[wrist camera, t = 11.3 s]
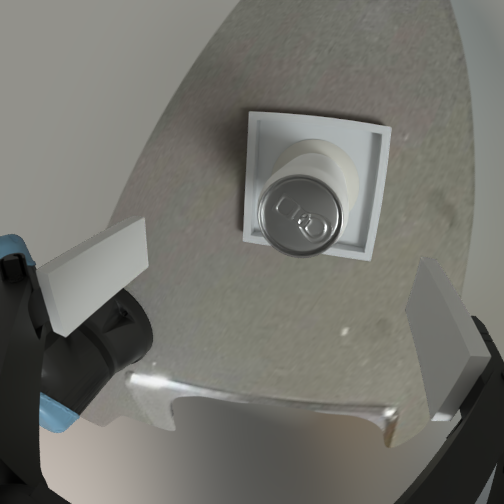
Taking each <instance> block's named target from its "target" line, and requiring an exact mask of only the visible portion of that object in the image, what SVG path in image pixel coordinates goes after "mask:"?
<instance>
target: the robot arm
mask: <svg viewBox="0 0 504 504" xmlns="http://www.w3.org/2000/svg"><path fill="white" fill-rule="evenodd" d="M35 265H36V263H35V261H33V260H32V258H31V255H30V253H29V251H28V249H27V247H26V244H25V242H24V241H23V239H22V238H21V237H20V236H18V235H15V234H8V235H4V236H0V504H71V503H70V502H68V501H67V500H65V499H63V498H62V497H61V496H59V495H58V494H56V493H55V492H54V491H52V490H50V489H49V488H48V485H47V483H46V481H45V479H44V477H43V475H42V472H41V468H40V450H39V449H40V448H39V425H40V426H41V427H43V428H45V429H47V430H49V431H51V432H54V433H61V432H64V431H65V430H66V429H67V428H68V427H69V426H70V425H72V424H73V423H74V422H75V420H77V419H79V417H80V415H81V413H82V412H83V411H84V410H85V409H86V407H87V406H88V405H89V404H90V403H91V401H92V400H93V399H94V398H95V397H96V395H97V394H98V393H99V392H100V391H101V389H102V388H103V387H104V386H105V385H106V383H107V382H108V381H109V380H110V379H111V377H112V376H113V375H114V374H115V373H117V372H119V371H120V370H122V369H124V368H125V367H127V366H128V365H130V364H133V363H136V362H138V361H140V360H141V359H142V358H143V357H144V356H145V355H146V353H147V352H148V351H149V350H150V348H151V346H152V342H153V333H152V328H151V325H150V322H149V320H148V318H147V316H146V314H145V313H144V311H143V309H142V308H141V307H140V305H139V304H138V303H137V302H136V300H135V299H134V298H133V297H132V296H131V295H130V294H129V293H127V292H126V291H125V290H124V289H122V288H123V287H125V286H126V285H127V284H128V283H129V282H131V281H132V280H133V279H134V278H135V277H137V276H138V275H139V274H140V273H141V272H143V271H144V270H145V269H146V268H148V267H149V266H148V255H147V243H146V230H145V217H141V216H131V217H129V218H127V219H125V220H123V221H121V222H119V223H117V224H115V225H113V226H111V227H110V228H108V229H106V230H104V231H102V232H100V233H99V234H97V235H95V236H93V237H91V238H90V239H88V240H86V241H84V242H82V243H81V244H79V245H77V246H75V247H74V248H72V249H70V250H68V251H67V252H65V253H63V254H61V255H60V256H58V257H56V258H55V259H53V260H51V261H50V262H48V263H46V264H45V265H43V266H41V267H40V268H38V269H36V267H35ZM405 311H406V314H407V317H408V321H409V325H410V328H411V332H412V336H413V339H414V343H415V347H416V351H417V355H418V359H419V363H420V368H421V372H422V377H423V381H424V386H425V391H426V396H427V401H428V407H429V412H430V418H431V421H451V420H452V418H453V417H454V415H455V414H456V413H457V411H458V410H459V409H460V413H461V416H462V418H461V420H460V421H459V422H458V424H457V425H456V426H455V427H454V429H453V430H452V431H451V433H450V434H449V435H448V437H447V440H446V441H445V442H444V444H443V445H442V447H441V448H440V449H439V451H438V452H437V454H436V455H435V456H434V457H433V459H432V460H431V461H430V462H429V464H428V465H427V467H426V468H425V469H424V470H423V471H422V472H421V474H420V475H419V476H418V477H417V478H416V480H415V481H414V482H413V483H412V485H410V487H409V488H408V489H407V490H406V491H405V492H404V493H403V494H402V495H401V497H400V498H399V499H398V500H397V501H396V502H395V503H394V504H475V502H476V501H477V498H478V497H479V496H480V494H481V492H482V490H483V488H484V487H485V485H486V483H487V481H488V479H489V477H490V476H491V474H492V472H493V470H494V468H495V466H496V464H497V466H496V471H495V475H494V479H493V483H492V486H491V490H490V494H489V497H488V501H487V504H504V362H503V359H502V358H501V356H500V353H499V351H498V350H497V348H496V346H495V344H494V342H492V341H493V340H492V338H491V336H490V335H489V333H488V331H487V329H486V327H485V325H484V324H483V323H482V322H481V321H480V320H479V319H478V318H477V317H476V316H470V314H469V312H468V311H467V309H466V307H465V305H464V304H463V302H462V300H461V298H460V297H459V295H458V293H457V291H456V290H455V288H454V286H453V285H452V283H451V282H450V280H449V278H448V277H447V275H446V273H445V272H444V270H443V269H442V267H441V266H440V264H439V263H438V261H437V259H434V258H428V257H422V256H421V259H420V262H419V266H418V270H417V273H416V277H415V280H414V284H413V287H412V290H411V293H410V297H409V300H408V303H407V306H406V309H405Z"/></svg>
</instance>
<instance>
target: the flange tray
mask: <svg viewBox="0 0 504 504" xmlns="http://www.w3.org/2000/svg"><path fill="white" fill-rule="evenodd" d="M391 128H392V127H387V126H382V125H376V124H370V123H364V122H357V121H351V120H344V119H336V118H328V117H319V116H310V115H299V114H287V113H272V112H252V111H249V122H248V142H247V162H246V183H245V205H244V228H243V242H250V243H256V244H263V245H270V244H269V243H268V242H267V240H266V239H265V238H264V236H263V234H262V232H261V230H260V227H259V224H258V217H257V205H258V198H259V195H260V192H261V190H262V188H263V186H264V185H265V183H266V182H267V180H268V179H269V178H270V177H271V176H272V175H273V174H274V173H276V172H277V171H278V170H279V169H281V168H282V167H283V166H285V165H286V164H287V163H289V162H290V161H291V160H293V159H294V158H296V157H298V156H300V155H303V154H307V153H318V154H322V155H325V156H327V157H329V158H331V159H332V160H333V161H335V162H336V163H337V164H338V166H339V167H340V168H341V170H342V172H343V174H344V177H345V181H346V187H347V194H348V202H349V217H348V222H347V225H346V228H345V230H344V232H343V234H342V236H341V237H340V238H339V239H338V241H337V242H336V243H335V244H333V245H332V246H331V247H330V248H329V249H328V250H327V251H325V252H323V253H322V254H327V255H334V256H340V257H346V258H353V259H359V260H365V261H371V257H372V252H373V247H374V242H375V237H376V232H377V227H378V222H379V216H380V210H381V204H382V198H383V192H384V185H385V178H386V171H387V164H388V156H389V147H390V138H391ZM270 246H271V245H270Z"/></svg>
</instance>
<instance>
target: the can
mask: <svg viewBox="0 0 504 504" xmlns="http://www.w3.org/2000/svg"><path fill="white" fill-rule="evenodd" d="M257 217H258V224H259V227H260V230H261V232H262V234H263V236H264V238H265V239H266V240H267V242H268V243H269V244H270V245H271V246H272V247H273V248H275V249H276V250H277V251H279V252H281V253H283V254H285V255H288V256H291V257H296V258H309V257H314V256H317V255H319V254H322V253H323V252H325V251H327V250H328V249H329V248H330V247H331V246H332V245H333V244H335V243H336V242H337V241H338V239H339V238H340V237H341V236H342V234H343V232H344V230H345V228H346V225H347V222H348V217H349V202H348V194H347V187H346V181H345V177H344V174H343V172H342V170H341V168H340V167H339V166H338V164H337V163H336V162H335V161H333V160H332V159H331V158H329V157H327V156H325V155H322V154H318V153H307V154H303V155H300V156H298V157H296V158H294V159H293V160H291V161H290V162H289V163H287V164H286V165H285V166H283V167H282V168H281V169H279V170H278V171H277V172H276V173H274V174H273V175H272V176H271V177H270V178H269V179H268V180H267V182H266V183H265V185H264V186H263V188H262V190H261V192H260V195H259V198H258V205H257Z"/></svg>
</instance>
